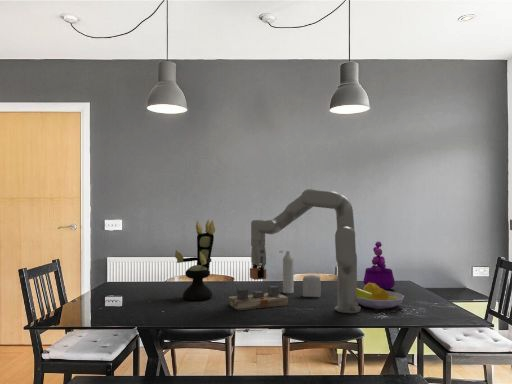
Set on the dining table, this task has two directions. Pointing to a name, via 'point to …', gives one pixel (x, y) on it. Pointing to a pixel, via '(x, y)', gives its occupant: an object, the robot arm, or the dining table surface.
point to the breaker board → (258, 302)
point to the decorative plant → (379, 271)
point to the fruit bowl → (377, 297)
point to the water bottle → (288, 273)
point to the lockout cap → (256, 273)
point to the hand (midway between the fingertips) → (258, 276)
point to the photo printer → (311, 286)
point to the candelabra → (199, 264)
